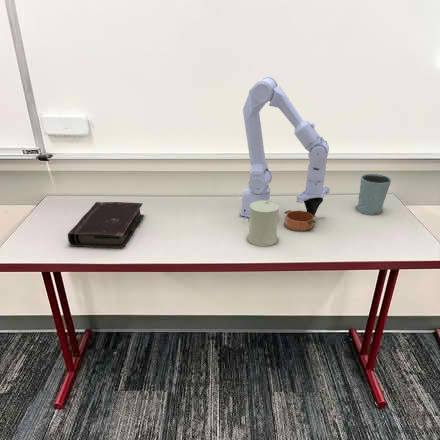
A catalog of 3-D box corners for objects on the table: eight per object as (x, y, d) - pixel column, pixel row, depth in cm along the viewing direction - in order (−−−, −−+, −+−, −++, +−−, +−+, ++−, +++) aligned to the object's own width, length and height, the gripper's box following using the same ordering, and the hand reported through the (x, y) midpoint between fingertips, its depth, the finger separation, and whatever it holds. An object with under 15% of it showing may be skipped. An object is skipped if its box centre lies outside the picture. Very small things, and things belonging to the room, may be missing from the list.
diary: (68, 246, 133) (65, 232, 130) (96, 214, 153) (93, 200, 150) (126, 249, 131) (124, 234, 128) (146, 216, 151) (144, 202, 149)
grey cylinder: (350, 209, 156) (355, 177, 150) (364, 202, 162) (371, 171, 155) (374, 217, 150) (381, 185, 143) (389, 210, 156) (396, 178, 149)
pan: (295, 216, 151) (296, 207, 149) (321, 227, 144) (322, 218, 142) (276, 223, 147) (277, 213, 145) (302, 235, 139) (303, 225, 137)
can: (279, 235, 139) (282, 200, 132) (273, 248, 132) (276, 212, 125) (252, 231, 141) (254, 197, 134) (244, 243, 134) (246, 208, 127)
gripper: (309, 187, 133) (305, 226, 141) (339, 177, 141) (333, 215, 148) (293, 181, 138) (289, 219, 146) (322, 172, 145) (317, 209, 153)
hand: (310, 217), depth 147 cm, fingers closed
